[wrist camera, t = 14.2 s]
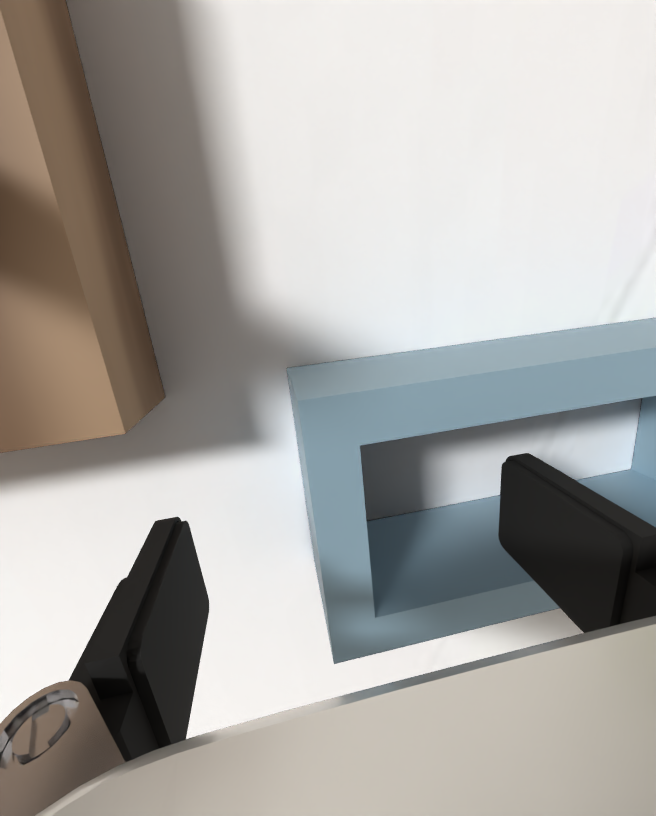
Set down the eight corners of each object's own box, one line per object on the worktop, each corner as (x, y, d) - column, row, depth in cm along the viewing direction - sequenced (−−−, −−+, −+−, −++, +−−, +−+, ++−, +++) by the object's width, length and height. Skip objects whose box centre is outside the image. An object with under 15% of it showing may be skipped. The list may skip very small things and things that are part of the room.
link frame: (683, 313, 16) (858, 317, 11) (652, 490, 19) (783, 552, 14) (286, 367, 14) (297, 400, 9) (314, 560, 16) (334, 663, 12)
